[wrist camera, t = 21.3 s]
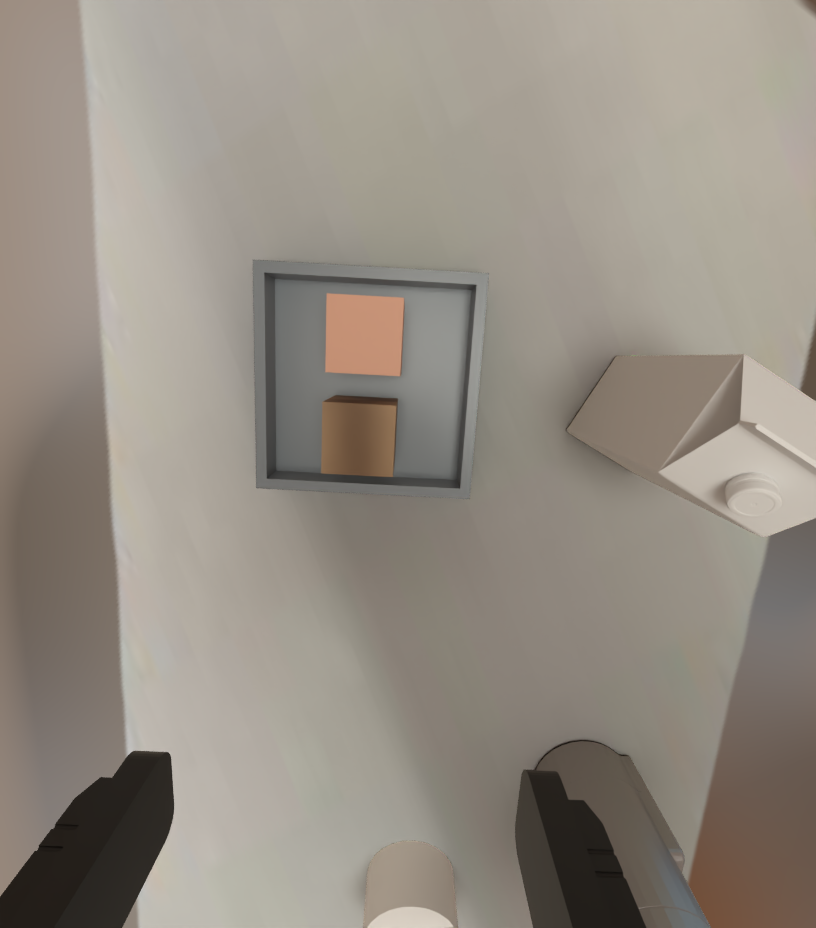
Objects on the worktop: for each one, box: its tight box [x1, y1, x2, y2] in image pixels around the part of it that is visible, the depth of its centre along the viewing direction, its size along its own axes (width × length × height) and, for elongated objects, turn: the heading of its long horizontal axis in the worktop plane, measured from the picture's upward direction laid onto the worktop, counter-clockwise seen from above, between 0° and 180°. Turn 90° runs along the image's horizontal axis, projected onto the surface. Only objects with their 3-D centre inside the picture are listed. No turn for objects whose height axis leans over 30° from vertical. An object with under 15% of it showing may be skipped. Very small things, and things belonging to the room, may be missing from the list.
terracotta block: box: [325, 293, 405, 376], centre depth 34 cm, size 5×5×6 cm
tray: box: [253, 260, 489, 499], centre depth 37 cm, size 17×17×4 cm
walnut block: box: [321, 395, 398, 477], centre depth 36 cm, size 5×5×6 cm
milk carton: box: [566, 354, 816, 537], centre depth 30 cm, size 7×7×19 cm
